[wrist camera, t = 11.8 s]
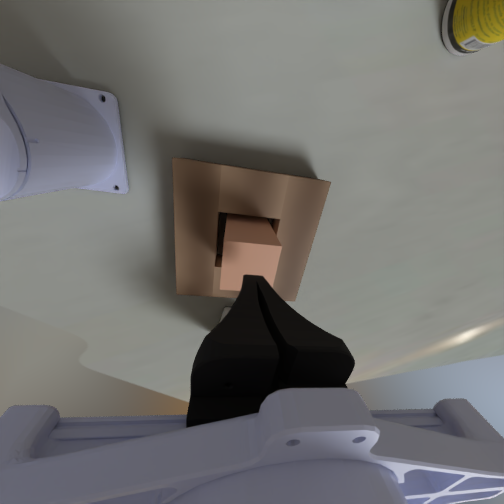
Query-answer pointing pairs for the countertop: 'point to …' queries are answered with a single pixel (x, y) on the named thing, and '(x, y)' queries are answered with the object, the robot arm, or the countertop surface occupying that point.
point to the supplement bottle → (472, 25)
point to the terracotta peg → (248, 250)
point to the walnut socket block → (246, 203)
